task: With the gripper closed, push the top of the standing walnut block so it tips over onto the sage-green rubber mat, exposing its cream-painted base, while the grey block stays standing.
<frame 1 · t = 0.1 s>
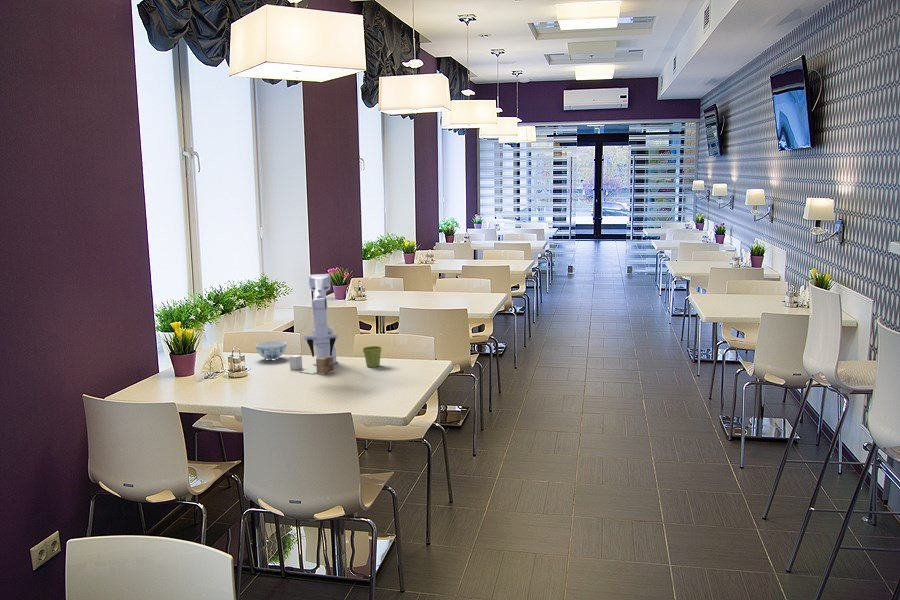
hand: (322, 356, 345), 11 cm above the table, tool pointing down, fingers open, 7 cm apart
chinaware: (272, 359, 392), on the table
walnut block: (325, 372, 360), on the table
plant pot: (372, 366, 371), on the table
grey block: (296, 368, 370), on the table
sage mat: (314, 370, 364), on the table
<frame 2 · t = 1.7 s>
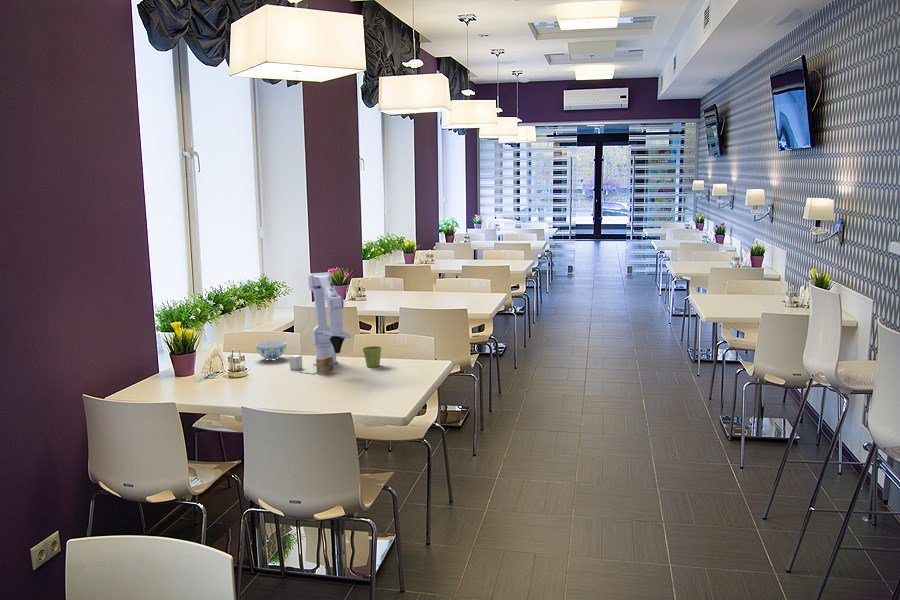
hand: (337, 353, 354), 10 cm above the table, tool pointing down, fingers closed
nothing on the table moved.
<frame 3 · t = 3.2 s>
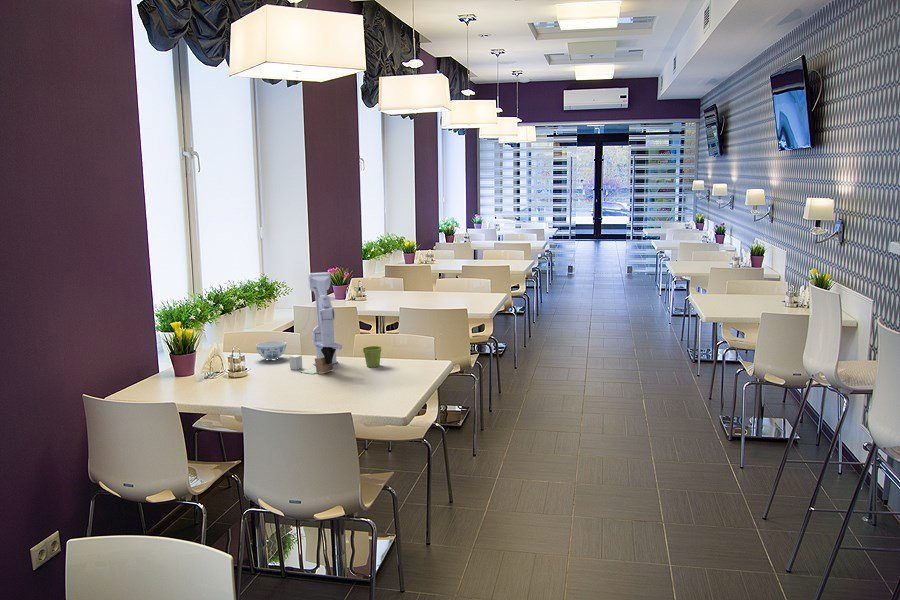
hand: (329, 363, 358), 4 cm above the table, tool pointing down, fingers closed
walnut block: (325, 371, 360), on the table, tilted 8°, touching gripper
everything else where it was.
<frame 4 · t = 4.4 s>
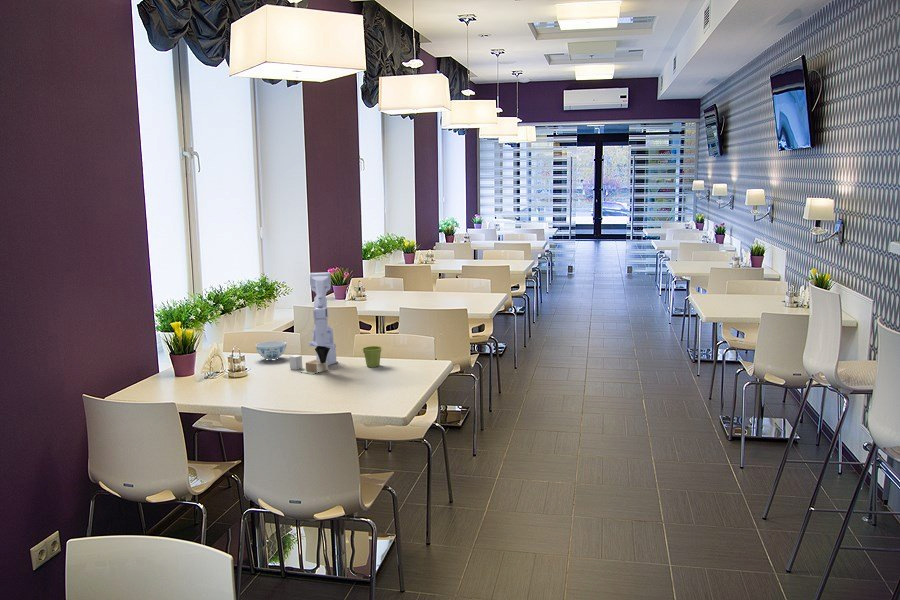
hand: (323, 362, 360), 4 cm above the table, tool pointing down, fingers closed
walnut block: (322, 366, 361), point 2 cm above the table, tilted 90°, touching sage mat
everything else where it was.
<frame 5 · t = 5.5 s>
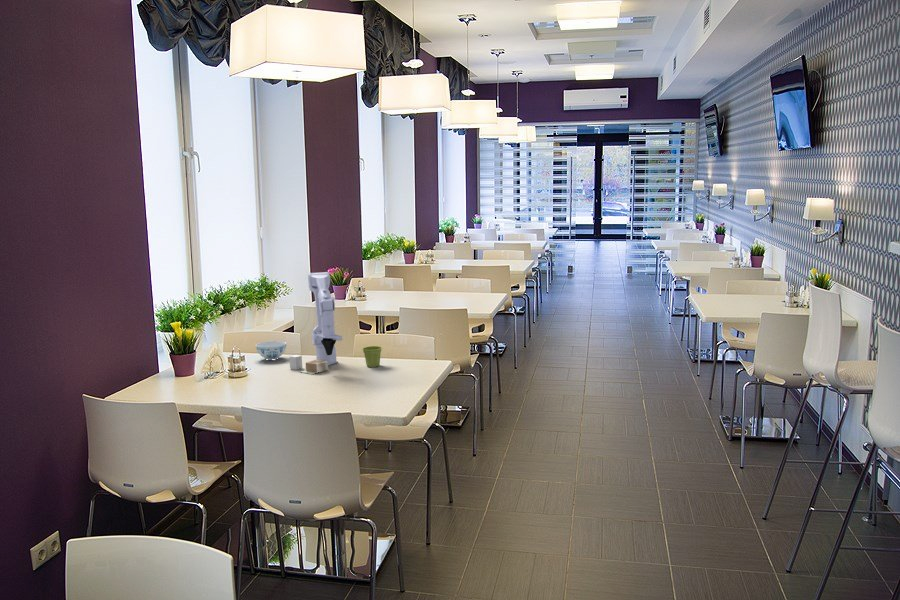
hand: (329, 354, 357), 8 cm above the table, tool pointing down, fingers closed
nothing on the table moved.
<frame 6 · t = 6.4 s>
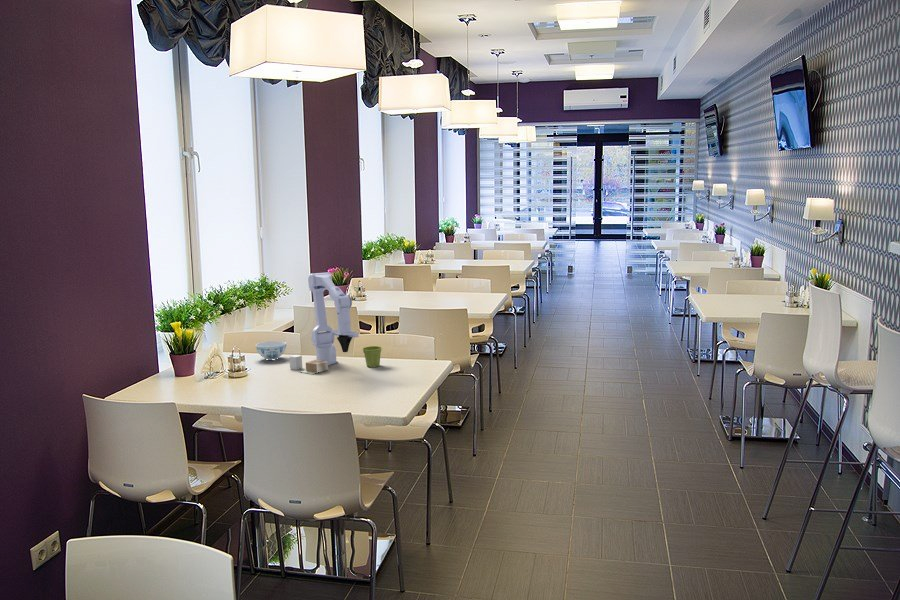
hand: (345, 351, 356), 10 cm above the table, tool pointing down, fingers closed
nothing on the table moved.
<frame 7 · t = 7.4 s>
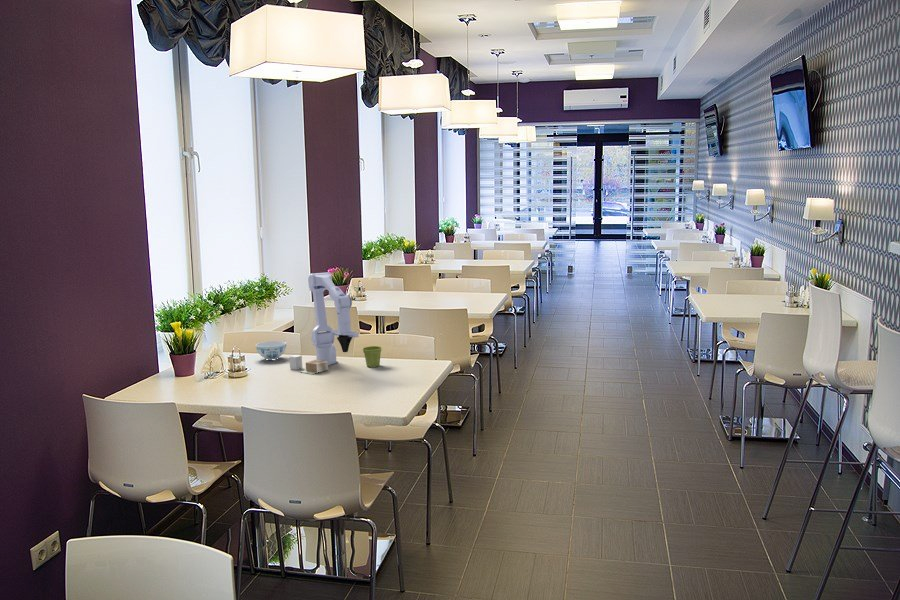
hand: (345, 351, 356), 10 cm above the table, tool pointing down, fingers closed
nothing on the table moved.
at the end: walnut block tilted 90°; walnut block inside the target area (2.2 cm from its centre), point 2.4 cm above the table; grey block tilted 0° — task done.
